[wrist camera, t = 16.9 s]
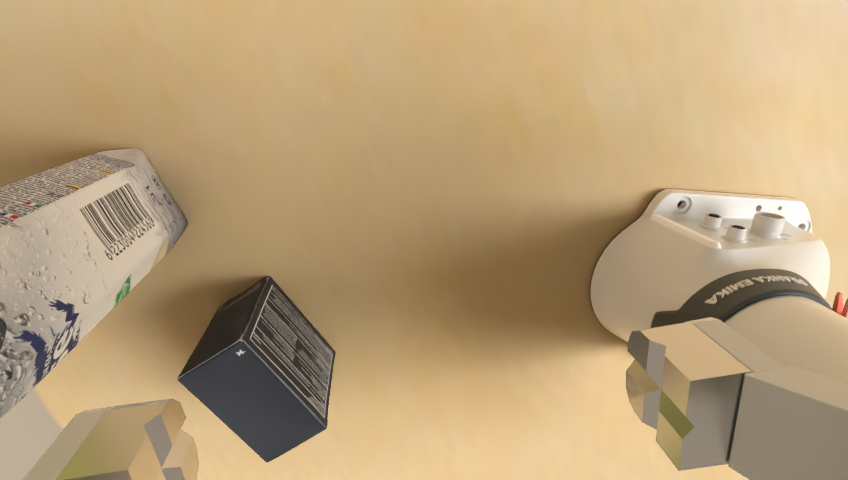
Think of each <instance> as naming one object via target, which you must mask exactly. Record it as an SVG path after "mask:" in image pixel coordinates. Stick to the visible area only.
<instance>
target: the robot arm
mask: <svg viewBox="0 0 848 480" xmlns="http://www.w3.org/2000/svg"><path fill="white" fill-rule="evenodd" d="M681 200H682V202H681V205H680V206H678V207H677V205H678V203H679V202H680V201H681ZM798 226H799V227H798ZM829 277H830V258H829V253H828V250H827V248H826V246H825V244H824V243H823V241H822V240H821V239H820V238H819V237H817V236H815V235H814V234H812V225H811V219H810V215H809V212H808V209H807V207H806V205H805V204H804V203H803V202H802V201H800V200H798V199H795V198H789V197H777V196H763V195H749V194H735V193H721V192H707V191H694V190H680V189H665V190H662V191H661V192H659V193H658V194H657V195H656V196H655V197H654V199H653V200H652V201H651V203H650V204H649V205H648V207H647V208H646V210H645V211H644V213H643V214H642V216H641V217H640V218H639V219H637V220H636V221H635V222H634V223H633V224H631V225H630V226H629V227H627V228H626V229H625V230H623V231H622V232H621V233H620V234H619V235H618V236H616V237H615V238H614V240H613V241H612V242H611V243H610V244H609V245H608V246H607V248H606V249H605V251H604V252H603V254H602V255H601V257H600V259H599V261H598V263H597V265H596V267H595V270H594V273H593V277H592V282H591V302H592V306H593V309H594V312H595V314H596V316H597V318H598V320H599V321H600V323H601V324H602V325H603V326H604V327H605V328H606V329H607V330H608V331H610V332H611V333H613V334H614V335H616V336H618V337H620V338H621V339H623V340H625V341H626V342H628V351H629V353H630V354H631V355H632V356H633V357H634V359H635V360H634V361H633V363H632V364H631V365H630V366H629V368H628V369H627V370H626V389H627V393H628V397H629V401H630V403H631V405H632V407H633V409H634V411H635V413H636V414H637V416H638V417H639V418H640V420H641V421H642V422H643V423H645V424H647V425H649V426H651V427H653V428H655V429H657V435H656V441H657V443H658V444H659V445H660V447H661V448H662V449H663V451H664V452H665V453H666V455H667V456H668V457H669V458H670V460H671V461H672V462H673V464H674V465H675V466H676V468H677V469H678V470H679V471H680V470H687V469H694V468H702V467H709V466H716V465H723V464H729V465H728V466H729V467H730V468H732V469H733V470H735V471H737V472H738V473H740V474H742V475H743V476H745V477H746V478H748V479H750V480H848V299H847V301H846V303H845V306H844V308H843V298H842V293H840V292H837V294H836V296H835V300H834V304H833V309H832V308H831V307H830V305H829V304H828V303H827V302H826V300H825V298H826V294H827V289H828V284H829ZM185 419H186V416H185V414H184V411H183V409H182V406H181V404H180V402H178V401H176V400H174V399H168V400H160V401H152V402H144V403H136V404H128V405H121V406H115V407H106V408H99V409H93V410H86V411H83V412H81V413H79V414H76V415H75V416H74V417H73V419H72V420H71V421H70V422H69V424H68V425H67V426H66V427H65V428H64V430H63V431H62V432H61V433H60V435H59V436H58V437H57V438H56V440H55V441H54V442H53V443H52V444H51V446H50V447H49V448H48V449H47V450H46V452H45V453H44V454H43V455H42V457H41V458H40V459H39V460H38V462H37V463H36V464H35V465H34V467H33V468H32V469H31V470H30V471H29V473H28V474H27V475H26V476H25V477H24V479H23V480H197V472H198V463H199V462H198V454H197V448H196V445H195V442H194V439H193V437H191V436H190V435H189V434H187V433H186V432H184V431H183V430H181V427H182V425H183V423H184V421H185Z"/></svg>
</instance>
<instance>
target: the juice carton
mask: <svg viewBox="0 0 848 480" xmlns="http://www.w3.org/2000/svg"><path fill="white" fill-rule="evenodd" d="M187 225H188V222H187V219H186V217H185V216H184V214H183V212H182V211H181V209H180V208H179V206H178V205H177V203H176V202H175V201H174V199H173V198H172V196H171V195H170V194H169V192H168V191H167V189H166V188H165V186H164V184H163V183H162V181H161V179H160V178H159V176H158V174H157V173H156V171H155V169H154V168H153V166H152V164H151V163H150V161H149V160H148V158H147V157H146V155H145V154H144V152H143V151H142V150H140V149H138V148H130V149H118V150H108V151H102V152H98V153H94V154H91V155H88V156H85V157H82V158H79V159H76V160H73V161H70V162H67V163H65V164H62V165H59V166H56V167H54V168H51V169H48V170H45V171H43V172H40V173H37V174H34V175H31V176H29V177H26V178H23V179H20V180H18V181H15V182H12V183H9V184H7V185H4V186H1V187H0V418H1V417H2V416H3V415H4V414H6V413H7V412H8V411H9V410H10V409H11V408H12V407H14V405H16V404H17V403H18V402H19V401H20V400H21V399H22V398H23V397H24V396H25V395H26V394H27V393H29V391H31V390H32V389H33V388H34V387H35V386H36V385H37V384H38V383H39V382H40V381H41V380H42V379H43V378H44V377H45V376H46V375H47V374H48V373H49V372H50V371H51V370H52V369H53V368H54V367H55V366H56V365H57V364H58V363H59V362H60V361H61V360H62V359H63V358H64V357H65V356H66V355H67V354H68V353H69V352H70V351H71V350H72V349H73V348H74V347H75V346H76V345H77V344H78V343H79V342H80V341H81V340H82V339H83V338H84V337H85V336H86V335H87V334H88V333H89V332H90V331H91V330H92V329H93V328H94V327H95V326H96V325H97V324H98V323H99V322H100V321H101V320H102V319H103V318H104V317H105V316H106V315H107V314H108V313H109V312H110V311H111V310H112V309H113V308H114V307H115V306H116V305H117V304H118V303H119V302H120V301H121V300H122V299H123V298H124V297H125V296H126V295H127V294H128V293H129V292H130V291H131V290H132V289H133V288H134V287H135V286H136V285H137V284H138V283H139V282H140V281H141V280H142V279H143V278H144V277H145V276H146V275H147V274H148V273H149V272H150V271H151V270H152V269H153V268H154V267H155V266H156V265H157V264H158V263H159V262H160V261H161V260H162V259H163V258H164V256H165V255H166V254H167V253H168V252H169V251H170V250H171V248H172V247H173V246H174V244H175V243H176V242H177V240H178V239H179V238H180V236H181V235H182V233H183V232H184V230H185V229H186V227H187Z"/></svg>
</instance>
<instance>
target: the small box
mask: <svg viewBox="0 0 848 480" xmlns="http://www.w3.org/2000/svg"><path fill="white" fill-rule="evenodd" d="M334 358H335V351H334V350H333V349H332V348H331V346H330V345H329V344H328V343H327V342H326V341H325V339H324V338H323V337H322V336H321V335H320V334H319V332H318V331H317V330H316V329H315V328H314V327H313V325H312V324H311V323H310V322H309V321H308V320H307V319H306V317H305V316H304V315H303V314H302V313H301V312H300V310H299V309H298V308H297V307H296V306H295V305H294V303H293V302H292V301H291V300H290V299H289V298H288V296H287V295H286V294H285V293H284V292H283V291H282V290H281V288H280V287H279V286H278V285H277V284H276V283H275V282H274V281H273V279H272V278H271V277H265V278H263V279H262V280H260V282H259V283H257V284H254V286H252V287H251V288H249V289H247V290H246V291H245V292H243V293H241V294H239V295H238V296H237V297H235V298H233V299H230V300H229V301H228V302H226V303H225V304H224V305H223V306H221V307H219V308H218V310H217V312H216V313H215V315H214V317H213V319H212V320H211V322H210V324H209V326H208V327H207V329H206V331H205V332H204V334H203V336H202V338H201V339H200V341H199V343H198V345H197V346H196V348H195V350H194V351H193V353H192V355H191V356H190V358H189V360H188V362H187V364H186V365H185V367H184V369H183V370H182V372H181V374H180V375H179V377H178V381H179V382H180V383H182V384H183V385H184V386H185V387H186V388H187V389H188V390H189V391H190V392H191V393H192V394H193V395H194V396H195V397H197V398H198V399H199V400H200V401H201V402H202V403H203V404H204V405H205V406H206V407H208V408H209V409H210V410H211V411H212V412H213V413H214V414H215V415H216V416H217V417H218V418H219V419H220V420H222V421H223V422H224V423H225V424H226V425H227V426H228V427H229V428H230V429H231V430H232V431H233V432H234V433H236V434H237V435H238V436H239V437H240V438H241V439H242V440H243V441H244V442H245V443H246V444H247V445H248V446H250V447H251V448H252V449H253V450H254V451H255V452H256V453H257V454H258V455H259V456H260V457H261V458H262V459H263V460H264V461H265V462H269V461H271V460H273V459H275V458H277V457H279V456H280V455H282V454H284V453H286V452H287V451H289V450H291V449H292V448H295V447H296V446H298V445H299V444H301V443H303V442H305V441H306V440H308V439H310V438H312V437H313V436H315V435H317V434H318V433H320V432H322V431H323V430H325V429H326V428H327V416H328V405H329V396H330V388H331V380H332V372H333V364H334Z"/></svg>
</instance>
